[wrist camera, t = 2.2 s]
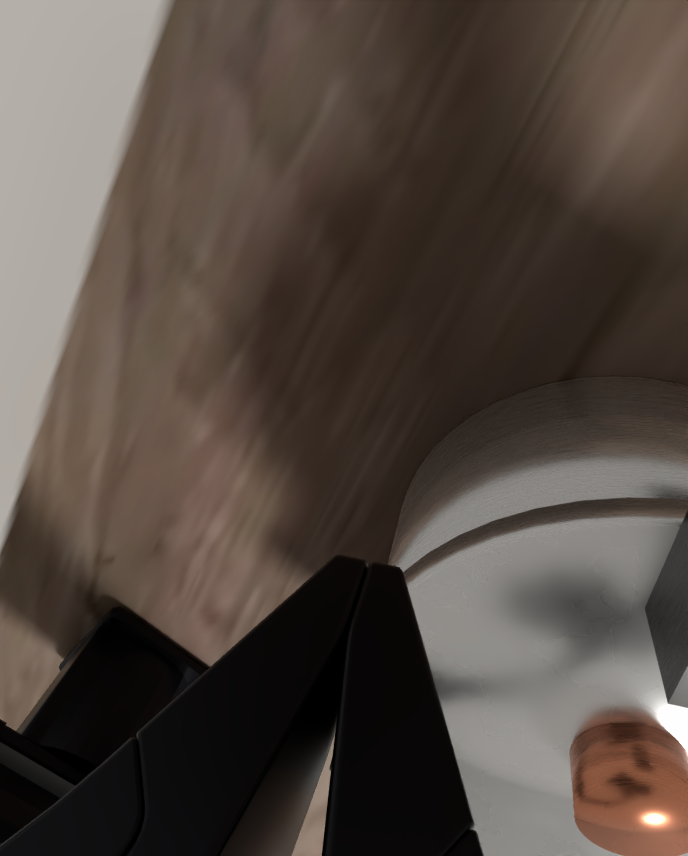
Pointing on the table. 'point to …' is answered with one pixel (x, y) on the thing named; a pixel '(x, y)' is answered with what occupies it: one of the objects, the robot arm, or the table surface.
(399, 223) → the table surface
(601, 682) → the cooker lid
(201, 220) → the table surface
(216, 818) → the robot arm
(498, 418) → the pressure cooker pot
